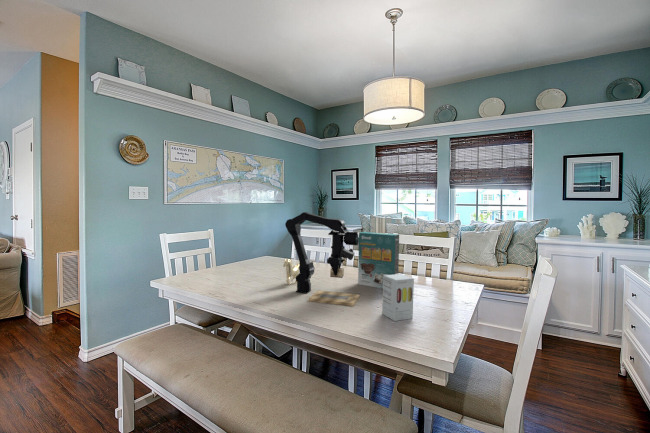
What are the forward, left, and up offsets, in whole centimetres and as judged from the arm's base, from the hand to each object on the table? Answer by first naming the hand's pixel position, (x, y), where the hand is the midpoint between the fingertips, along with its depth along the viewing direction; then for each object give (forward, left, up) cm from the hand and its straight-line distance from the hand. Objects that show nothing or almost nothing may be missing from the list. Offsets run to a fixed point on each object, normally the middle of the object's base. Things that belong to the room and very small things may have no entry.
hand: (336, 274), depth 157 cm
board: (+1, -6, -11) cm, 12 cm away
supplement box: (+32, -19, -11) cm, 39 cm away
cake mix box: (+18, +25, -11) cm, 32 cm away
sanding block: (0, 0, -1) cm, 1 cm away
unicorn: (-29, +12, -11) cm, 33 cm away
